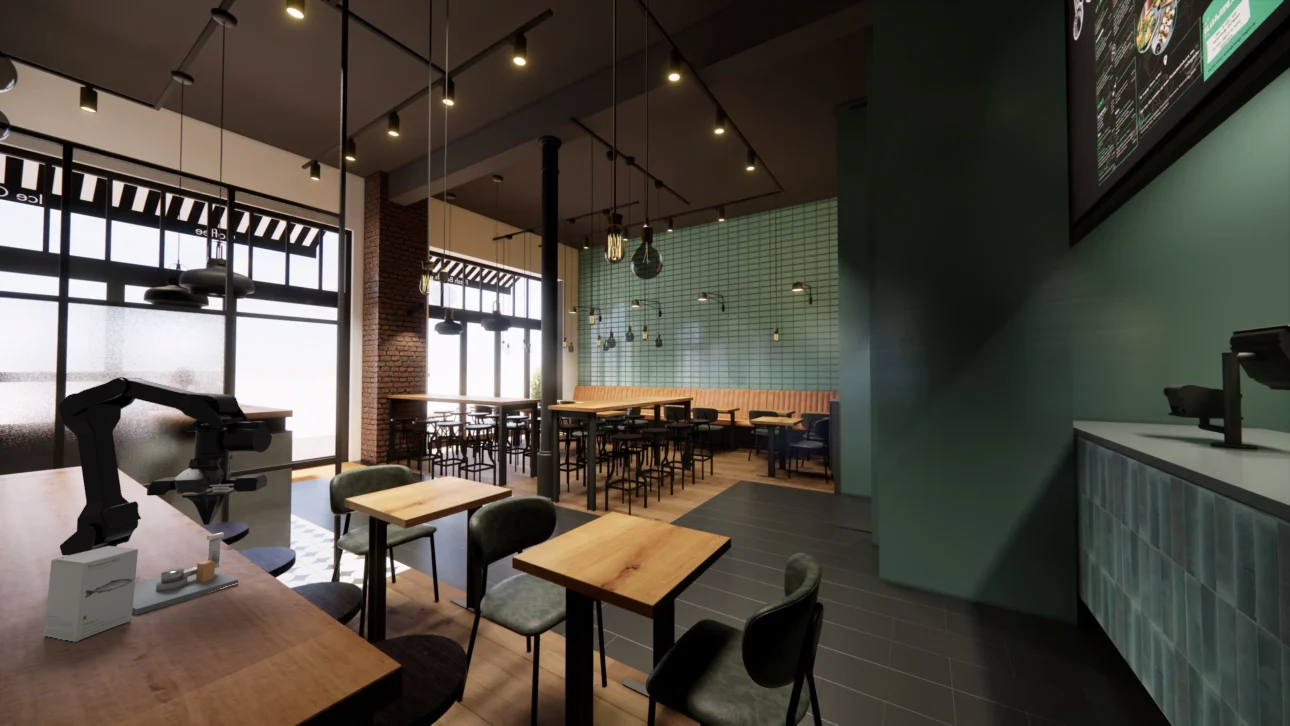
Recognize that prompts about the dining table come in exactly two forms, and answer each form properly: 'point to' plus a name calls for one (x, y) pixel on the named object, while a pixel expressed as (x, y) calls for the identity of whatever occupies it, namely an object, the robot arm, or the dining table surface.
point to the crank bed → (178, 588)
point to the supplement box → (90, 592)
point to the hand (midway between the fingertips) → (207, 524)
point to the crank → (180, 573)
